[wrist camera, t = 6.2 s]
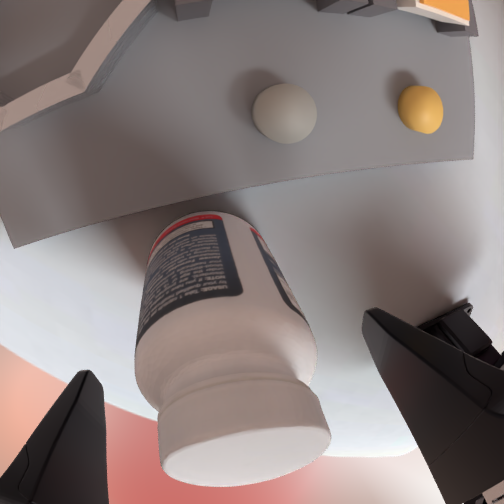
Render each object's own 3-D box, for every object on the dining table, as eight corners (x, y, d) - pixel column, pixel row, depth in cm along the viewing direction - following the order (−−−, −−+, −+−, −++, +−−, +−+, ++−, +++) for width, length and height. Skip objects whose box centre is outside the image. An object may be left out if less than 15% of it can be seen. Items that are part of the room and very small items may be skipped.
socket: (166, 73, 8) (162, 68, 7) (-20, 149, 7) (-42, 158, 6) (148, -93, 4) (144, -112, 3) (-28, -10, 3) (-46, -16, 2)
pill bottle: (136, 293, 13) (116, 484, 5) (171, 189, 11) (150, 390, 3) (238, 321, 15) (284, 489, 7) (288, 233, 13) (399, 404, 5)
